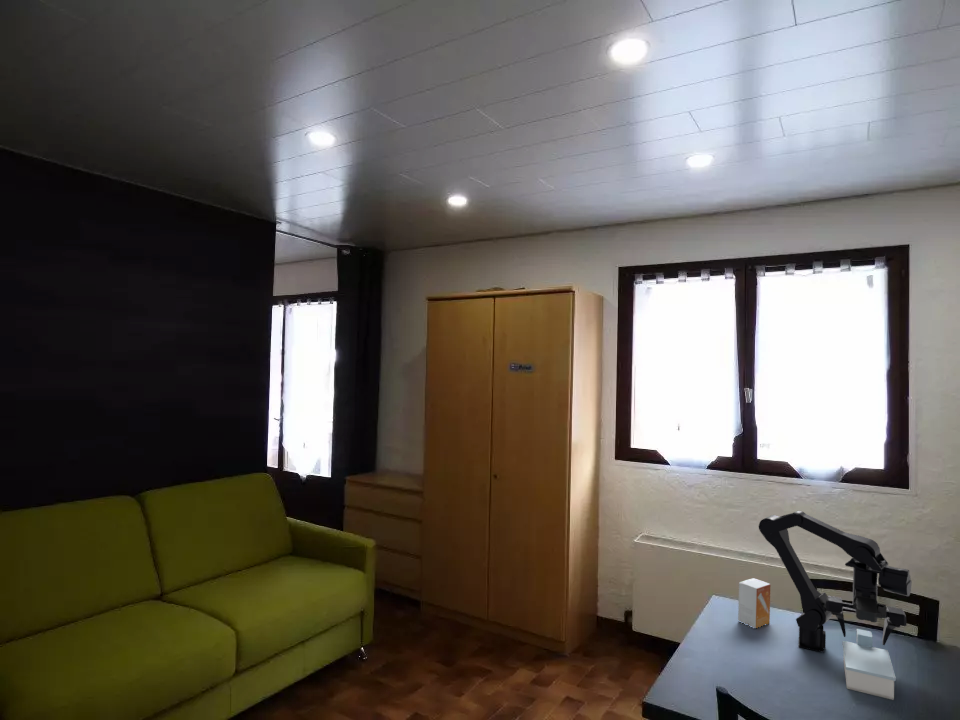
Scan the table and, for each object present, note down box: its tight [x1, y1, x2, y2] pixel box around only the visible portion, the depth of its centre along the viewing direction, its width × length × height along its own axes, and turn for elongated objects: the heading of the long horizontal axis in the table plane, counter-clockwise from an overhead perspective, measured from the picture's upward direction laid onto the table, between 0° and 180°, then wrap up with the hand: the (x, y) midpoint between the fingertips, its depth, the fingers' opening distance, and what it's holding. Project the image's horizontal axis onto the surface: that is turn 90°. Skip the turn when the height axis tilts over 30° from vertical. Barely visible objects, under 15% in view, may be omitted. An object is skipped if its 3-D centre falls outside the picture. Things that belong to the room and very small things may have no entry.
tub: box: [843, 658, 895, 701], centre depth 157 cm, size 10×16×5 cm, turn 151°
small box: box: [737, 577, 772, 629], centre depth 190 cm, size 8×6×13 cm
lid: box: [842, 628, 897, 682], centre depth 158 cm, size 11×20×4 cm, turn 151°
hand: (863, 640), depth 166 cm, fingers open, 9 cm apart
